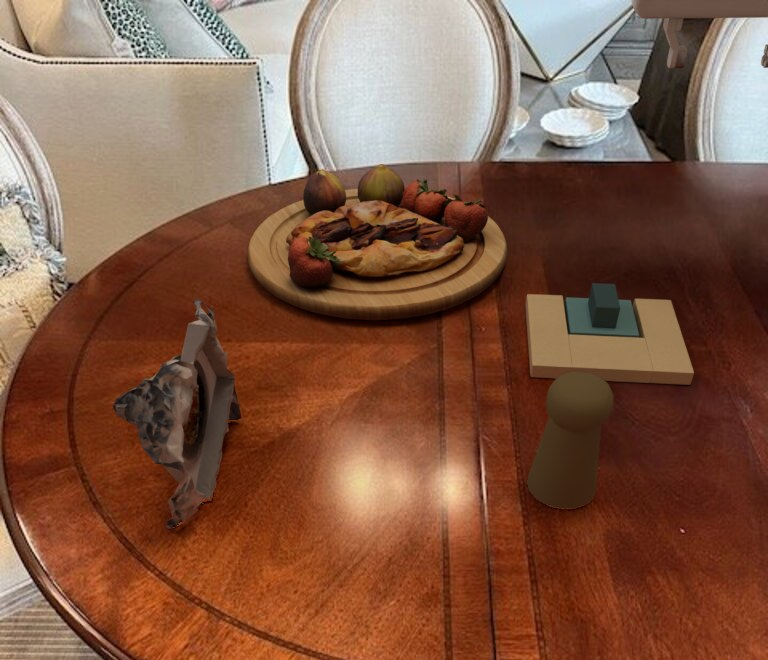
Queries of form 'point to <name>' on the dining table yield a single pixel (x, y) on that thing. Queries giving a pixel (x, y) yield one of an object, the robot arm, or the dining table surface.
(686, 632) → the dining table surface
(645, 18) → the robot arm
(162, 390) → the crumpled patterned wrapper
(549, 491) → the olive game pawn
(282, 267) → the wooden plate
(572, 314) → the teal pad
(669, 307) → the base pad
